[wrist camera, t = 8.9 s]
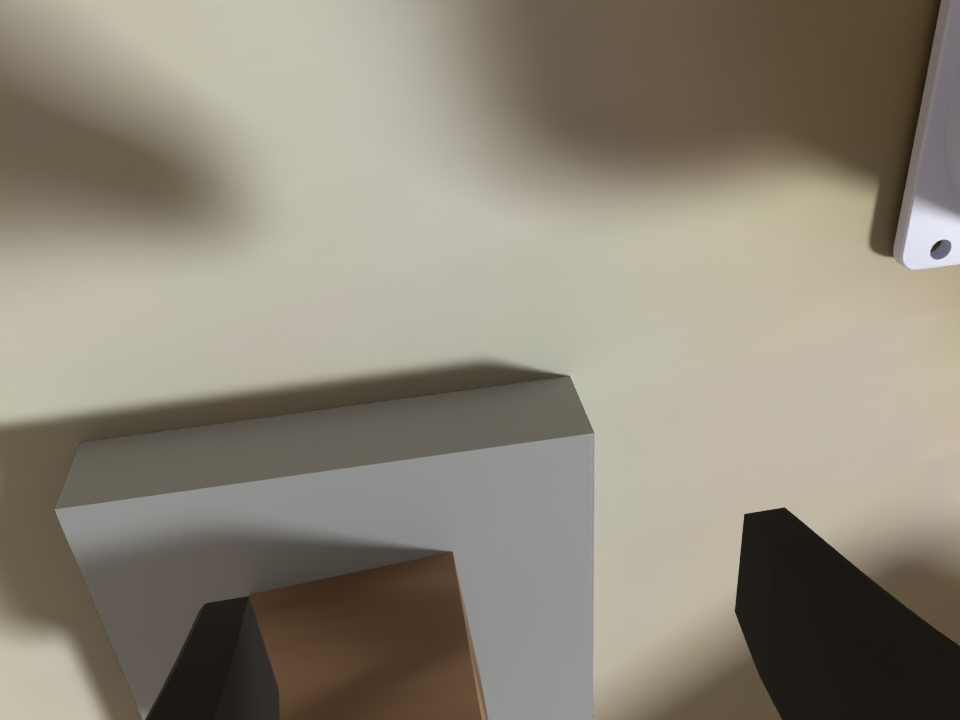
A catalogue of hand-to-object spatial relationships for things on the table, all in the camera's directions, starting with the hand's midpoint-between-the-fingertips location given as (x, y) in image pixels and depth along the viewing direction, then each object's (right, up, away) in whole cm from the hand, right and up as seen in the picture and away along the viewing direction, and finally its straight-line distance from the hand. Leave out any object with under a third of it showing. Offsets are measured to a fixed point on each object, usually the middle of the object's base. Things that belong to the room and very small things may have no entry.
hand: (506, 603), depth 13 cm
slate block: (-4, -2, +13) cm, 13 cm away
